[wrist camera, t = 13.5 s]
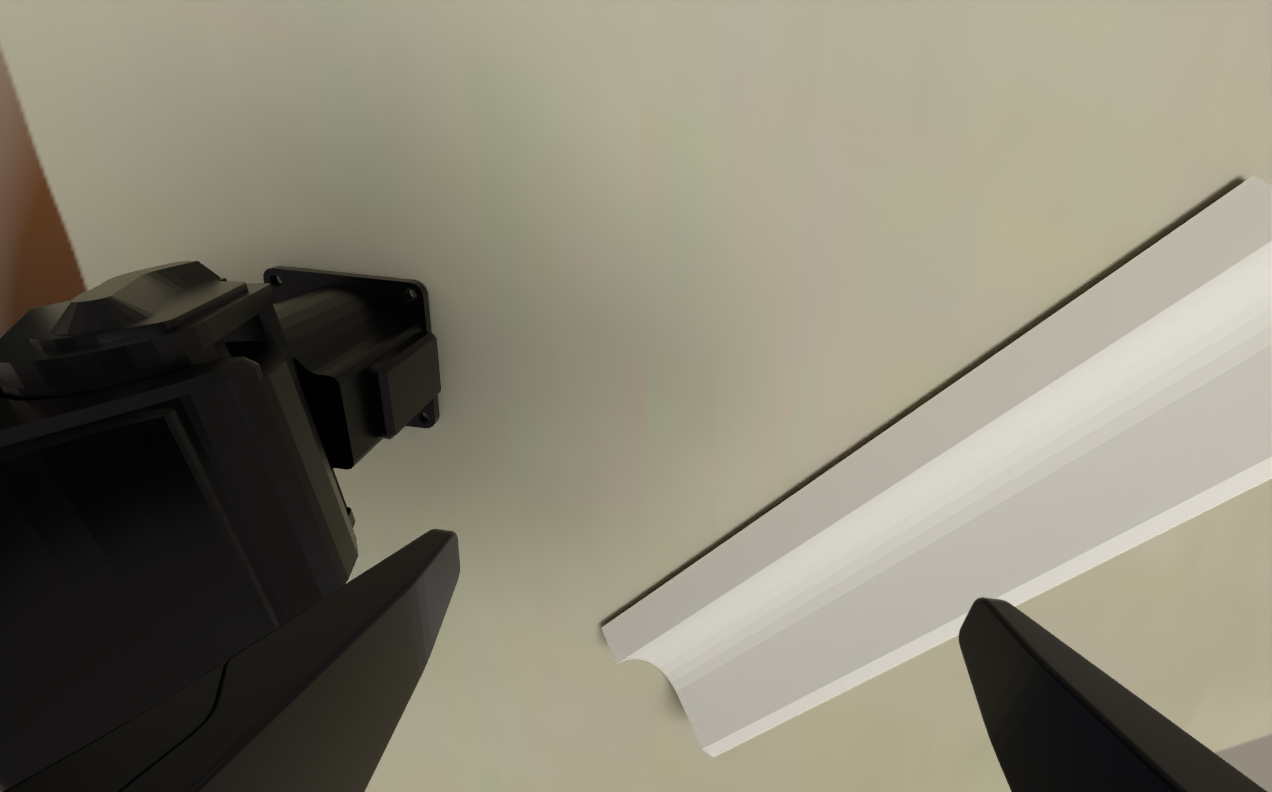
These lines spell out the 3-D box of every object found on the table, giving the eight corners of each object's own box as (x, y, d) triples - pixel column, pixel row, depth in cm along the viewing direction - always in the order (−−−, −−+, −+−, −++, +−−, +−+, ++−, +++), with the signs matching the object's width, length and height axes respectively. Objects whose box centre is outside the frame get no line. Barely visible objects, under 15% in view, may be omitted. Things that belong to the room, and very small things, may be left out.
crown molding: (1224, 177, 17) (1350, 183, 14) (1356, 405, 20) (1485, 454, 17) (605, 615, 29) (595, 675, 25) (748, 722, 32) (756, 788, 28)
